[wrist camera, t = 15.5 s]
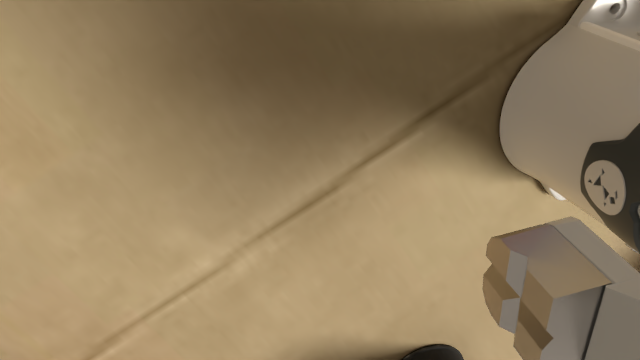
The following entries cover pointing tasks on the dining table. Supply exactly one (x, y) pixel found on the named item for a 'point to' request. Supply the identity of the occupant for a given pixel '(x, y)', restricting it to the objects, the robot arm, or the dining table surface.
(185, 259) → the dining table surface
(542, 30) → the dining table surface
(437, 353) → the milk frother
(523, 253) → the robot arm
